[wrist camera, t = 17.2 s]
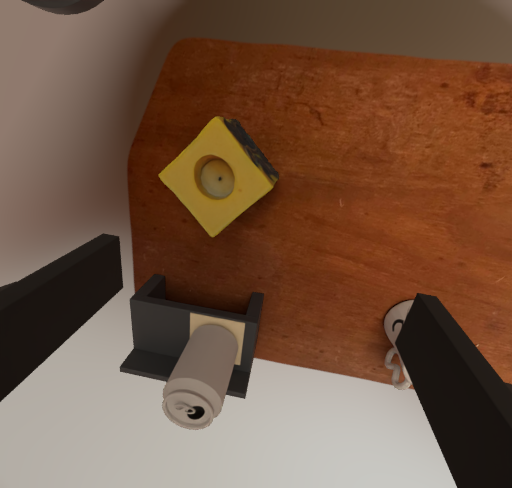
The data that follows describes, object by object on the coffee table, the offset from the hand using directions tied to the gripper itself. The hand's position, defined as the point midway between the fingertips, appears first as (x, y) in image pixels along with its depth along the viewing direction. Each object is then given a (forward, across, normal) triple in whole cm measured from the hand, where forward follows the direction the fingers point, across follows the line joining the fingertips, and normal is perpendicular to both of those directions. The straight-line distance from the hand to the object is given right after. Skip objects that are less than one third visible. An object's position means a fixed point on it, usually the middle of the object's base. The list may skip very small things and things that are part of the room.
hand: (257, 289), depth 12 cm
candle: (+30, -8, -1) cm, 31 cm away
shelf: (+30, -10, -26) cm, 41 cm away
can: (+22, -6, -25) cm, 34 cm away
